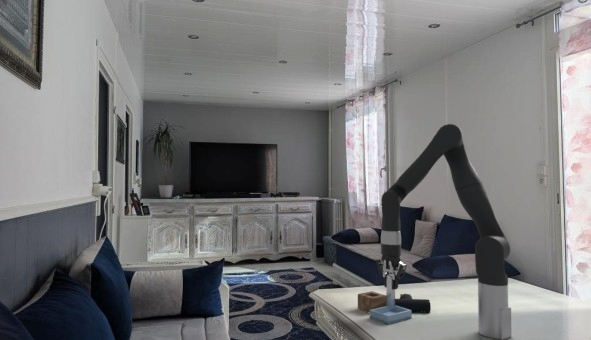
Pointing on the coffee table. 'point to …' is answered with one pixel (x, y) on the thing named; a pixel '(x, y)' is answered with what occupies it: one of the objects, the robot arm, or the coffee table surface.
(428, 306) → the pipe connector
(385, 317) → the tray
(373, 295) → the pin block
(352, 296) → the coffee table surface
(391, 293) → the pin
